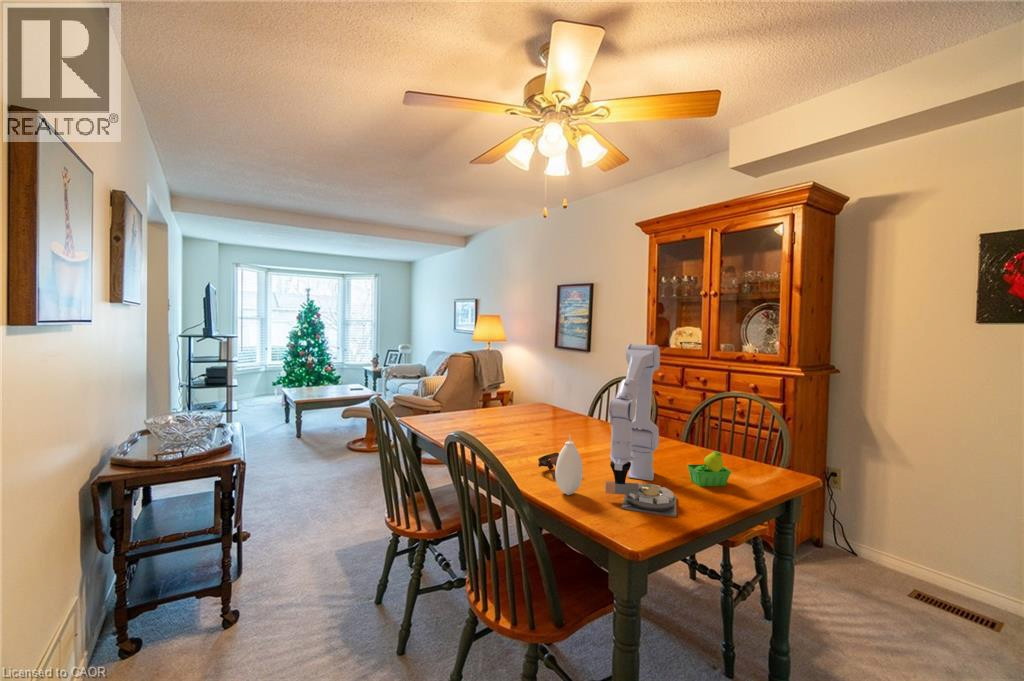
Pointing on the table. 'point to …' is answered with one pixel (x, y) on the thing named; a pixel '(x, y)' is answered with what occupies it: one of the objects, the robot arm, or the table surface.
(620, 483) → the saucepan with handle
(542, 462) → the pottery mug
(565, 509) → the table surface
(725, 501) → the table surface
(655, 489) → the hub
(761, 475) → the table surface
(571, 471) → the air blower bulb
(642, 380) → the robot arm
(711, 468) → the fruit basket
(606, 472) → the table surface
